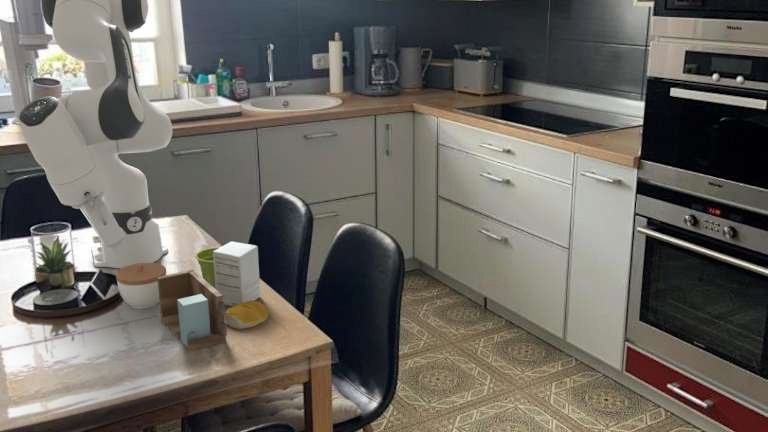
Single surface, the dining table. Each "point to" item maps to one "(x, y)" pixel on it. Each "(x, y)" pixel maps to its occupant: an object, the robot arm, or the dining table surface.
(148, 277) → the lidded jar
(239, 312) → the bread roll
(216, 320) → the carcass
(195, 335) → the pale teal box
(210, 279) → the plant pot
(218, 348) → the dining table surface
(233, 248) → the supplement box
